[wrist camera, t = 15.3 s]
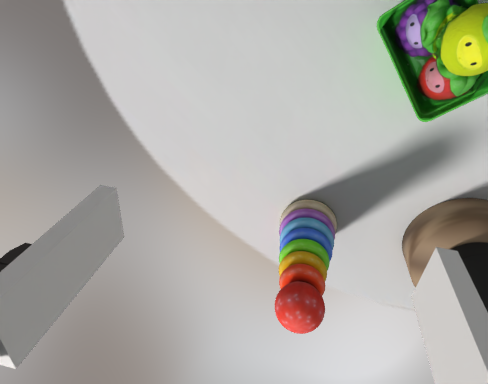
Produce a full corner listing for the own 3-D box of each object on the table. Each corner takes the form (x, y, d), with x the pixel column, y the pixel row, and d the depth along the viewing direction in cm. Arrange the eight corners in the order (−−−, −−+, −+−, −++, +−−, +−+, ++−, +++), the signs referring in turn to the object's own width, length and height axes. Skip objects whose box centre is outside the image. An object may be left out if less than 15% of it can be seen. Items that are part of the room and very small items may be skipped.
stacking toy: (347, 211, 46) (360, 323, 30) (319, 250, 50) (317, 366, 35) (295, 188, 46) (280, 287, 30) (271, 229, 50) (248, 335, 34)
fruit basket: (366, 18, 35) (383, 25, 25) (459, -42, 31) (520, -61, 21) (410, 111, 38) (439, 148, 29) (497, 67, 35) (564, 94, 25)
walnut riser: (426, 187, 42) (438, 208, 38) (544, 212, 41) (570, 237, 37) (387, 268, 49) (393, 293, 45) (486, 291, 48) (502, 320, 44)
